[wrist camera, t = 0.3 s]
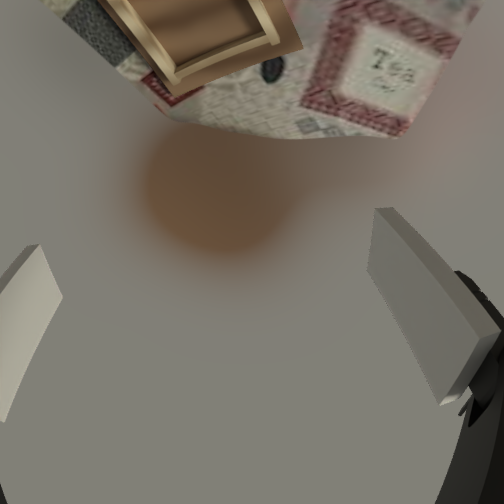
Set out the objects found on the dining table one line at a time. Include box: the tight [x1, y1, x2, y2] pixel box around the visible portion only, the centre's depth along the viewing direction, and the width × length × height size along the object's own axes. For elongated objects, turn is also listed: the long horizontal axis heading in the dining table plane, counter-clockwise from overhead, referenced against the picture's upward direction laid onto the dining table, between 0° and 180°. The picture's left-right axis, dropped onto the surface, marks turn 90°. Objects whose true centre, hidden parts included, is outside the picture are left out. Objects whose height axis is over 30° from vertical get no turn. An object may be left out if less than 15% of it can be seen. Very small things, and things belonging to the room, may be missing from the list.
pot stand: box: [98, 0, 303, 98], centre depth 27 cm, size 20×18×4 cm
